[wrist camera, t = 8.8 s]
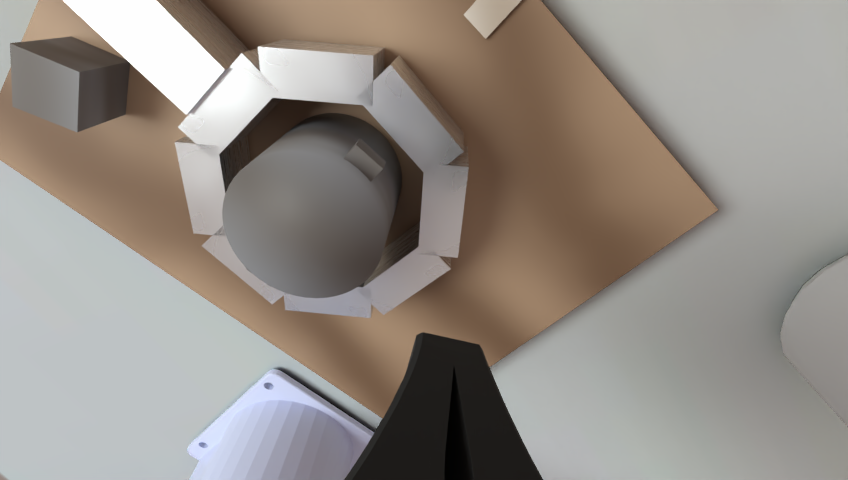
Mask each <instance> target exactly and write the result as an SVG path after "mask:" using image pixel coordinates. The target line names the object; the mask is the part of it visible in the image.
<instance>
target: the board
mask: <svg viewBox="0 0 848 480" xmlns="http://www.w3.org/2000/svg"><path fill="white" fill-rule="evenodd" d="M201 1H202V2H203V3H204V4H205V5H206V6H207V7H208V8H209V9H210V10H211V11H212V12H213V13H214V14H215V15H216V16H217V17H218V18H219V19H220V20H221V21H222V22H223V23H224V25H225V26H226V27H227V28H228V29H229V30H230V31H231V32H232V33H233V34H234V35H235V36H236V37H237V38H238V39H239V40H240V41H241V42H242V43H243V44H244V45H245V46H246V47H247V49H248V50H249V51H250V50H254V49H257V48H258V46H261V45H265V44H269V43H272V42H276V41H280V40H283V39H286V40H298V41H311V42H324V43H336V44H349V45H362V46H375V47H385V57H384V70H385V69H386V68H387V67H388V66H389V65H390V64H391V63H392V62H393V61H394V60H395V59H396V58H397V57H398V56H399V55H400V57H401V58H402V59H403V60H404V61H405V63H406V64H407V65H408V66H409V67H410V69H411V70H412V71H413V72H414V73H415V75H416V76H417V77H418V78H419V79H420V81H421V82H422V83H423V84H424V85H425V87H426V88H427V89H428V90H429V91H430V93H431V94H432V95H433V96H434V97H435V99H436V100H437V101H438V102H439V103H440V105H441V106H442V107H443V108H444V109H445V111H446V112H447V113H448V114H449V115H450V117H451V118H452V119H453V120H454V121H455V123H456V124H457V125H458V126H459V128H460V129H461V130H462V131H463V137H464V146H468V163H469V169H468V177H467V186H466V194H465V203H464V211H463V219H462V228H461V236H460V245H459V253H458V258H455V257H451V269H450V270H449V271H447V272H446V273H444V274H443V275H441V276H440V277H438V278H437V279H436V280H434V281H433V282H431V283H430V284H428V285H427V286H425V287H424V288H422V289H421V290H419V291H418V292H417V293H415V294H414V295H412V296H411V297H409V298H408V299H406V300H405V301H403V302H402V303H401V304H399V305H398V306H396V307H395V308H393V309H392V310H390V311H389V312H387V313H386V314H385V315H383V314H382V313H381V312H379V311H378V310H377V309H376V308H375V307H374V308H373V312H372V315H371V318H363V317H353V316H343V315H332V314H322V313H312V312H301V311H291V310H285V303H284V295H283V296H282V297H281V298H280V299H278V300H277V301H276V302H275V303H273V304H271V303H270V302H269V301H267V300H266V299H265V298H264V297H263V296H261V295H260V294H259V293H258V292H257V291H255V290H254V289H253V288H252V287H251V286H249V285H248V284H247V283H246V282H245V281H243V280H242V279H241V278H240V277H238V276H237V275H236V274H235V273H234V272H232V271H231V270H230V269H229V268H228V267H226V266H225V265H224V264H223V263H222V262H220V261H219V260H218V259H217V258H216V257H214V256H213V255H212V254H211V253H210V252H208V251H207V250H206V249H205V248H204V247H202V245H203V244H204V243H205V242H206V241H207V240H208V239H209V238H210V237H211V236H212V235H205V234H194V233H193V228H192V224H191V219H190V214H189V209H188V204H187V200H186V195H185V190H184V185H183V180H182V175H181V171H180V166H179V161H178V156H177V151H176V146H175V141H177V140H179V139H181V138H183V137H185V136H187V135H186V134H185V133H184V132H182V131H181V130H180V129H179V128H178V126H179V125H180V124H181V123H182V122H183V121H184V119H185V118H186V117H187V116H188V115H189V114H187V115H186V114H185V113H183V112H182V111H181V110H180V109H179V108H178V107H177V106H176V105H175V104H174V103H173V102H172V101H171V100H170V99H168V98H167V97H166V96H165V95H164V94H163V93H162V92H161V91H160V90H159V89H158V88H157V87H156V86H154V85H153V84H152V83H151V82H150V81H149V80H148V79H147V78H146V77H145V76H144V75H143V74H142V73H141V72H139V71H138V70H137V69H136V68H135V67H134V66H133V65H132V64H131V63H130V62H129V61H128V60H127V59H125V58H124V57H123V56H122V55H121V54H120V53H119V52H118V51H117V50H116V49H115V48H114V47H113V46H111V45H110V44H109V43H108V42H107V41H106V40H105V39H104V38H103V37H102V36H101V35H100V34H99V33H98V32H96V31H95V30H94V29H93V28H92V27H91V26H90V25H89V24H88V23H87V22H86V21H85V20H84V19H82V18H81V17H80V16H79V15H78V14H77V13H76V12H75V11H74V10H73V9H72V8H71V7H70V6H69V5H67V4H66V3H65V2H64V1H63V0H39V1H38V3H37V6H36V8H35V10H34V13H33V15H32V18H31V20H30V22H29V25H28V27H27V29H26V32H25V34H24V37H23V39H22V41H21V42H18V43H10V53H11V68H10V70H9V73H8V75H7V77H6V80H5V82H4V85H3V87H2V89H1V92H0V160H1V161H2V162H4V163H5V164H7V165H8V166H10V167H11V168H13V169H14V170H16V171H17V172H19V173H20V174H22V175H23V176H25V177H26V178H28V179H29V180H31V181H32V182H34V183H35V184H37V185H38V186H39V187H41V188H42V189H44V190H45V191H47V192H48V193H50V194H51V195H53V196H54V197H56V198H57V199H59V200H60V201H62V202H63V203H65V204H66V205H68V206H69V207H71V208H72V209H73V210H75V211H76V212H78V213H79V214H81V215H82V216H84V217H85V218H87V219H88V220H90V221H91V222H93V223H94V224H96V225H97V226H99V227H100V228H102V229H103V230H105V231H106V232H108V233H109V234H110V235H112V236H113V237H115V238H116V239H118V240H119V241H121V242H122V243H124V244H125V245H127V246H128V247H130V248H131V249H133V250H134V251H136V252H137V253H139V254H140V255H142V256H143V257H144V258H146V259H147V260H149V261H150V262H152V263H153V264H155V265H156V266H158V267H159V268H161V269H162V270H164V271H165V272H167V273H168V274H170V275H171V276H173V277H174V278H176V279H177V280H179V281H180V282H181V283H183V284H184V285H186V286H187V287H189V288H190V289H192V290H193V291H195V292H196V293H198V294H199V295H201V296H202V297H204V298H205V299H207V300H208V301H210V302H211V303H213V304H214V305H216V306H217V307H218V308H220V309H221V310H223V311H224V312H226V313H227V314H229V315H230V316H232V317H233V318H235V319H236V320H238V321H239V322H241V323H242V324H244V325H245V326H247V327H248V328H250V329H251V330H252V331H254V332H255V333H257V334H258V335H260V336H261V337H263V338H264V339H266V340H267V341H269V342H270V343H272V344H273V345H275V346H276V347H278V348H279V349H281V350H282V351H284V352H285V353H287V354H288V355H289V356H291V357H292V358H294V359H295V360H297V361H298V362H300V363H301V364H303V365H304V366H306V367H307V368H309V369H310V370H312V371H313V372H315V373H316V374H318V375H319V376H321V377H322V378H323V379H325V380H326V381H328V382H329V383H331V384H332V385H334V386H335V387H337V388H338V389H340V390H341V391H343V392H344V393H346V394H347V395H349V396H350V397H352V398H353V399H355V400H356V401H358V402H359V403H360V404H362V405H363V406H365V407H366V408H368V409H369V410H371V411H372V412H374V413H375V414H377V415H378V416H380V417H381V418H383V417H384V416H385V414H386V412H387V410H388V408H389V406H390V405H391V403H392V401H393V399H394V396H395V394H396V392H397V390H398V388H399V386H400V384H401V382H402V380H403V378H404V376H405V373H406V370H407V367H408V363H409V360H410V356H411V352H412V349H413V345H414V342H415V338H416V335H418V334H420V333H422V332H425V333H429V334H434V335H439V336H443V337H448V338H452V339H457V340H461V341H466V342H470V343H475V344H479V345H480V346H481V348H482V350H483V352H484V355H485V357H486V360H487V363H488V365H489V367H490V366H492V365H493V364H495V363H496V362H498V361H499V360H501V359H502V358H504V357H505V356H506V355H508V354H509V353H511V352H512V351H514V350H515V349H517V348H518V347H520V346H521V345H522V344H524V343H525V342H527V341H528V340H530V339H531V338H533V337H534V336H536V335H537V334H538V333H540V332H541V331H543V330H544V329H546V328H547V327H549V326H550V325H552V324H553V323H554V322H556V321H557V320H559V319H560V318H562V317H563V316H565V315H566V314H568V313H569V312H570V311H572V310H573V309H575V308H576V307H578V306H579V305H581V304H582V303H584V302H585V301H586V300H588V299H589V298H591V297H592V296H594V295H595V294H597V293H598V292H600V291H601V290H602V289H604V288H605V287H607V286H608V285H610V284H611V283H613V282H614V281H616V280H617V279H618V278H620V277H621V276H623V275H624V274H626V273H627V272H629V271H630V270H632V269H633V268H635V267H636V266H637V265H639V264H640V263H642V262H643V261H645V260H646V259H648V258H649V257H651V256H652V255H653V254H655V253H656V252H658V251H659V250H661V249H662V248H664V247H665V246H667V245H668V244H669V243H671V242H672V241H674V240H675V239H677V238H678V237H680V236H681V235H683V234H684V233H685V232H687V231H688V230H690V229H691V228H693V227H694V226H696V225H697V224H699V223H700V222H701V221H703V220H704V219H706V218H707V217H709V216H710V215H712V214H713V213H715V212H716V211H717V210H718V209H717V208H716V206H715V205H714V204H713V203H712V202H711V201H710V199H709V198H708V197H707V196H706V195H705V194H704V192H703V191H702V190H701V189H700V188H699V186H698V185H697V184H696V183H695V182H694V181H693V179H692V178H691V177H690V176H689V175H688V173H687V172H686V171H685V170H684V169H683V168H682V166H681V165H680V164H679V163H678V162H677V160H676V159H675V158H674V157H673V156H672V155H671V153H670V152H669V151H668V150H667V149H666V148H665V146H664V145H663V144H662V143H661V142H660V140H659V139H658V138H657V137H656V136H655V135H654V133H653V132H652V131H651V130H650V129H649V127H648V126H647V125H646V124H645V123H644V122H643V120H642V119H641V118H640V117H639V116H638V115H637V113H636V112H635V111H634V110H633V109H632V107H631V106H630V105H629V104H628V103H627V102H626V100H625V99H624V98H623V97H622V96H621V94H620V93H619V92H618V91H617V90H616V89H615V87H614V86H613V85H612V84H611V83H610V81H609V80H608V79H607V78H606V77H605V76H604V74H603V73H602V72H601V71H600V70H599V69H598V67H597V66H596V65H595V64H594V63H593V61H592V60H591V59H590V58H589V57H588V56H587V54H586V53H585V52H584V51H583V50H582V48H581V47H580V46H579V45H578V44H577V43H576V41H575V40H574V39H573V38H572V37H571V35H570V34H569V33H568V32H567V31H566V30H565V28H564V27H563V26H562V25H561V24H560V23H559V21H558V20H557V19H556V18H555V17H554V15H553V14H552V13H551V12H550V11H549V10H548V8H547V7H546V6H545V5H544V4H543V2H542V1H541V0H201ZM247 137H248V145H249V153H250V161H251V162H250V163H249V164H248V165H246V166H245V167H244V168H243V169H242V170H240V171H239V173H238V174H237V175H236V176H235V177H234V178H233V180H232V181H231V183H230V185H229V186H228V189H227V191H226V193H225V197H224V201H223V209H222V218H223V226H224V230H225V234H226V237H227V239H228V242H229V244H230V246H231V248H232V250H233V251H234V253H235V254H236V256H237V258H238V259H239V260H240V261H241V262H242V264H243V265H244V266H245V267H246V270H248V271H249V272H251V273H252V274H253V275H255V276H256V277H257V278H258V279H260V280H261V281H263V282H264V283H266V284H267V285H269V286H270V287H273V288H275V289H277V290H280V291H282V292H285V293H288V294H291V295H295V296H299V297H305V298H328V297H334V296H338V295H341V294H344V293H347V292H349V291H352V290H353V289H355V288H357V287H358V286H360V285H361V284H362V283H364V282H365V281H366V280H367V279H368V278H369V277H370V276H371V275H372V273H373V272H374V271H375V269H376V268H377V266H378V264H379V262H380V260H381V257H382V253H383V250H384V248H385V247H387V246H388V245H389V244H391V243H392V242H393V241H395V240H396V239H397V238H399V237H400V236H401V235H402V234H404V233H405V232H406V231H408V230H409V229H410V228H412V227H413V226H414V225H416V224H417V223H418V222H420V217H421V203H422V188H423V174H424V172H423V171H422V170H421V169H420V168H419V167H418V166H417V164H416V163H415V162H414V161H413V160H412V159H411V158H410V157H409V156H408V155H407V153H406V152H405V151H404V150H403V149H402V148H401V147H400V146H399V145H398V143H397V142H396V141H395V140H394V139H393V138H392V137H391V136H390V135H389V133H388V132H387V131H386V130H385V129H384V128H383V127H382V126H381V125H380V123H379V122H378V121H377V120H376V119H375V118H374V117H373V116H372V115H371V114H370V112H369V111H368V110H367V109H366V108H365V107H364V106H363V105H354V104H342V103H330V102H318V101H306V100H294V99H282V100H281V101H280V102H279V103H278V104H277V105H276V106H275V107H274V108H273V109H272V110H271V111H270V112H269V113H268V114H267V115H266V116H265V118H264V119H263V120H262V121H261V122H260V123H259V124H258V125H257V126H256V127H255V128H254V129H253V130H252V131H251V132H250V133H249V134H248V135H247Z"/></svg>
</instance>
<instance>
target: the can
mask: <svg viewBox="0 0 848 480" xmlns="http://www.w3.org/2000/svg"><path fill="white" fill-rule="evenodd" d="M780 338H781V343H782V349H783V354H784V355H785V356H786V358H787V359H788V360H789V361H790V362H791V364H792V365H793V366H794V367H795V368H796V369H797V371H798V372H799V373H800V374H801V375H802V376H803V377H804V378H805V380H806V381H807V382H808V383H809V384H810V385H811V386H812V387H813V389H814V390H815V391H816V392H817V393H818V394H819V395H820V396H821V397H822V399H823V400H824V401H825V402H826V403H827V404H828V405H829V406H830V408H831V409H832V410H833V411H834V412H835V413H836V414H837V415H838V417H839V418H840V419H841V420H842V421H843V422H844V423H845V424H846V425H847V427H848V255H846V256H844V257H842V258H840V259H838V260H837V261H835V262H833V263H831V264H829V265H827V266H826V267H824V268H822V269H821V270H820V271H819V272H818V273H816V274H815V275H814V276H813V277H812V278H811V279H810V280H808V281H807V282H806V283H805V284H804V285H803V286H802V288H801V289H800V291H799V292H798V294H797V295H796V297H795V298H794V300H793V301H792V303H791V306H790V308H789V309H788V311H787V312H786V314H785V318H784V322H783V325H782V329H781V333H780Z"/></svg>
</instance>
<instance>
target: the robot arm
mask: <svg viewBox="0 0 848 480" xmlns="http://www.w3.org/2000/svg"><path fill="white" fill-rule="evenodd" d="M270 383H271V384H270ZM187 452H188V453H189V455H191V456H192V457H194V458H196V459H198V460H200V461H199V463H198V464H197V466H196V468H195V470H194V472H193V473H192V475H191V477H190V479H189V480H543V479H542V477H541V475H540V473H539V471H538V470H537V468H536V466H535V464H534V462H533V460H532V459H531V457H530V455H529V453H528V451H527V449H526V447H525V445H524V443H523V441H522V439H521V437H520V435H519V433H518V431H517V429H516V427H515V424H514V422H513V420H512V418H511V416H510V414H509V412H508V410H507V408H506V405H505V403H504V401H503V399H502V396H501V394H500V392H499V389H498V387H497V385H496V382H495V380H494V378H493V375H492V373H491V370H490V368H489V365H488V363H487V360H486V357H485V355H484V352H483V350H482V348H481V346H480V345H479V344H475V343H470V342H466V341H461V340H457V339H452V338H448V337H443V336H439V335H434V334H429V333H425V332H422V333H420V334H418V335H416V338H415V342H414V345H413V349H412V352H411V356H410V360H409V363H408V367H407V370H406V373H405V376H404V378H403V380H402V382H401V384H400V386H399V388H398V390H397V392H396V394H395V396H394V399H393V401H392V403H391V405H390V406H389V408H388V410H387V412H386V414H385V416H384V417H383V419H382V421H381V422H380V424H379V426H378V427H377V429H376V431H375V432H373V431H371V430H370V429H368V428H367V427H365V426H364V425H362V424H361V423H359V422H358V421H356V420H355V419H353V418H352V417H350V416H349V415H347V414H346V413H344V412H343V411H341V410H339V409H338V408H336V407H335V406H333V405H332V404H330V403H329V402H327V401H326V400H324V399H323V398H321V397H320V396H318V395H317V394H315V393H314V392H312V391H311V390H309V389H308V388H306V387H305V386H303V385H302V384H300V383H299V382H297V381H296V380H294V379H292V378H291V377H289V376H288V375H286V374H285V373H283V372H282V371H280V370H276V369H273V370H270V371H268V372H267V373H266V374H265V375H264V376H263V377H262V378H261V379H260V380H259V381H257V382H256V383H255V384H254V385H253V386H252V387H251V388H250V389H249V390H248V391H247V392H246V393H244V394H243V395H242V396H241V397H240V398H239V399H238V400H237V401H236V402H235V403H234V404H233V405H231V406H230V407H229V408H228V409H227V410H226V411H225V412H224V413H223V414H222V415H221V416H220V417H218V418H217V419H216V420H215V421H214V422H213V423H212V424H211V425H210V426H209V427H208V428H207V429H205V430H204V431H203V432H202V433H201V434H200V435H199V436H198V437H197V438H196V439H195V440H194V441H192V442H191V443H190V445H189V447H188V448H187Z"/></svg>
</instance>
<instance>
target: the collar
mask: <svg viewBox="0 0 848 480" xmlns="http://www.w3.org/2000/svg"><path fill="white" fill-rule="evenodd" d="M63 1H64V2H65V3H66V4H67V5H69V6H70V7H71V8H72V9H73V10H74V11H75V12H76V13H77V14H78V15H79V16H80V17H81V18H82V19H84V20H85V21H86V22H87V23H88V24H89V25H90V26H91V27H92V28H93V29H94V30H95V31H96V32H98V33H99V34H100V35H101V36H102V37H103V38H104V39H105V40H106V41H107V42H108V43H109V44H110V45H111V46H113V47H114V48H115V49H116V50H117V51H118V52H119V53H120V54H121V55H122V56H123V57H124V58H125V59H127V60H128V61H129V62H130V63H131V64H132V65H133V66H134V67H135V68H136V69H137V70H138V71H139V72H141V73H142V74H143V75H144V76H145V77H146V78H147V79H148V80H149V81H150V82H151V83H152V84H153V85H154V86H156V87H157V88H158V89H159V90H160V91H161V92H162V93H163V94H164V95H165V96H166V97H167V98H168V99H170V100H171V101H172V102H173V103H174V104H175V105H176V106H177V107H178V108H179V109H180V110H181V111H182V112H183V113H185V114H186V115H187V114H189V115H188V116H187V117H186V118H185V119H184V121H183V122H182V123H181V124H180V125H179V126H178V128H179V129H180V130H181V131H182V132H184V133H185V134H186V135H187V136H185V137H183V138H181V139H179V140H177V141H175V146H176V151H177V156H178V161H179V166H180V171H181V175H182V180H183V185H184V190H185V195H186V200H187V204H188V209H189V214H190V219H191V224H192V228H193V233H194V234H205V235H212V236H211V237H210V238H209V239H208V240H207V241H206V242H205V243H204V244H203V245H202V247H204V248H205V249H206V250H207V251H208V252H210V253H211V254H212V255H213V256H214V257H216V258H217V259H218V260H219V261H220V262H222V263H223V264H224V265H225V266H226V267H228V268H229V269H230V270H231V271H232V272H234V273H235V274H236V275H237V276H238V277H240V278H241V279H242V280H243V281H245V282H246V283H247V284H248V285H249V286H251V287H252V288H253V289H254V290H255V291H257V292H258V293H259V294H260V295H261V296H263V297H264V298H265V299H266V300H267V301H269V302H270V303H271V304H273V303H275V302H276V301H277V300H278V299H280V298H281V297H282V296H283V295H284V303H285V310H291V311H301V312H312V313H322V314H332V315H343V316H353V317H363V318H371V315H372V312H373V308H374V307H375V308H376V309H377V310H378V311H379V312H381V313H382V314H383V315H385V314H386V313H387V312H389V311H390V310H392V309H393V308H395V307H396V306H398V305H399V304H401V303H402V302H403V301H405V300H406V299H408V298H409V297H411V296H412V295H414V294H415V293H417V292H418V291H419V290H421V289H422V288H424V287H425V286H427V285H428V284H430V283H431V282H433V281H434V280H436V279H437V278H438V277H440V276H441V275H443V274H444V273H446V272H447V271H449V270H450V269H451V257H455V258H458V253H459V245H460V236H461V228H462V219H463V211H464V203H465V194H466V186H467V177H468V169H469V163H468V146H464V137H463V131H462V130H461V129H460V128H459V126H458V125H457V124H456V123H455V121H454V120H453V119H452V118H451V117H450V115H449V114H448V113H447V112H446V111H445V109H444V108H443V107H442V106H441V105H440V103H439V102H438V101H437V100H436V99H435V97H434V96H433V95H432V94H431V93H430V91H429V90H428V89H427V88H426V87H425V85H424V84H423V83H422V82H421V81H420V79H419V78H418V77H417V76H416V75H415V73H414V72H413V71H412V70H411V69H410V67H409V66H408V65H407V64H406V63H405V61H404V60H403V59H402V58H401V57H400V55H399V56H398V57H397V58H396V59H395V60H394V61H393V62H392V63H391V64H390V65H389V66H388V67H387V68H386V69H385V70H384V57H385V47H375V46H362V45H349V44H336V43H324V42H311V41H298V40H286V39H283V40H280V41H276V42H272V43H269V44H265V45H261V46H258V48H257V49H254V50H250V51H249V50H248V49H247V47H246V46H245V45H244V44H243V43H242V42H241V41H240V40H239V39H238V38H237V37H236V36H235V35H234V34H233V33H232V32H231V31H230V30H229V29H228V28H227V27H226V26H225V25H224V23H223V22H222V21H221V20H220V19H219V18H218V17H217V16H216V15H215V14H214V13H213V12H212V11H211V10H210V9H209V8H208V7H207V6H206V5H205V4H204V3H203V2H202V1H201V0H63ZM282 99H294V100H306V101H318V102H330V103H342V104H354V105H363V106H364V107H365V108H366V109H367V110H368V111H369V112H370V114H371V115H372V116H373V117H374V118H375V119H376V120H377V121H378V122H379V123H380V125H381V126H382V127H383V128H384V129H385V130H386V131H387V132H388V133H389V135H390V136H391V137H392V138H393V139H394V140H395V141H396V142H397V143H398V145H399V146H400V147H401V148H402V149H403V150H404V151H405V152H406V153H407V155H408V156H409V157H410V158H411V159H412V160H413V161H414V162H415V163H416V164H417V166H418V167H419V168H420V169H421V170H422V171H423V172H424V174H423V188H422V203H421V217H420V222H418V223H417V224H416V225H414V226H413V227H412V228H410V229H409V230H408V231H406V232H405V233H404V234H402V235H401V236H400V237H399V238H397V239H396V240H395V241H393V242H392V243H391V244H389V245H388V246H387V247H385V248H384V250H383V253H382V257H381V260H380V262H379V264H378V266H377V268H376V269H375V271H374V272H373V273H372V275H371V276H370V277H369V278H368V279H367V280H366V281H365V282H364V283H362V284H361V285H360V286H358V287H357V288H355V289H353V290H352V291H349V292H347V293H344V294H341V295H338V296H334V297H328V298H305V297H299V296H295V295H291V294H288V293H285V292H282V291H280V290H277V289H275V288H273V287H270V286H269V285H267V284H266V283H264V282H263V281H261V280H260V279H258V278H257V277H256V276H255V275H253V274H252V273H251V272H249V271H248V270H246V267H245V266H244V265H243V264H242V262H241V261H240V260H239V259H238V258H237V256H236V254H235V253H234V251H233V250H232V248H231V246H230V244H229V242H228V239H227V237H226V234H225V230H224V226H223V218H222V209H223V201H224V197H225V193H226V191H227V189H228V186H229V185H230V183H231V181H232V180H233V178H234V177H235V176H236V175H237V174H238V173H239V171H240V170H242V169H243V168H244V167H245V166H246V165H248V164H249V163H250V162H251V161H250V153H249V145H248V137H247V135H248V134H249V133H250V132H251V131H252V130H253V129H254V128H255V127H256V126H257V125H258V124H259V123H260V122H261V121H262V120H263V119H264V118H265V116H266V115H267V114H268V113H269V112H270V111H271V110H272V109H273V108H274V107H275V106H276V105H277V104H278V103H279V102H280V101H281V100H282Z"/></svg>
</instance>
